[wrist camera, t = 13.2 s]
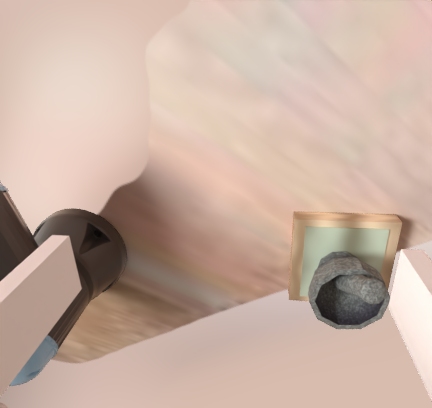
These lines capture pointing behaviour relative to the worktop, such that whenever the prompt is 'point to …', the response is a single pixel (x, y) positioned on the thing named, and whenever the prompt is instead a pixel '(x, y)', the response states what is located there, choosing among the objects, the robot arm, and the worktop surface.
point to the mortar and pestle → (347, 292)
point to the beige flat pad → (340, 244)
